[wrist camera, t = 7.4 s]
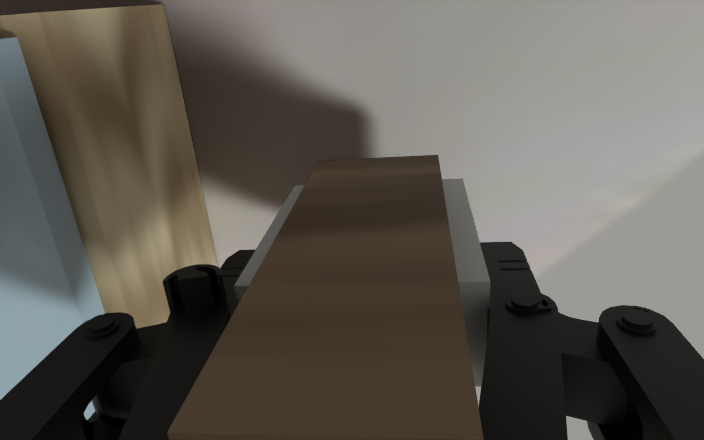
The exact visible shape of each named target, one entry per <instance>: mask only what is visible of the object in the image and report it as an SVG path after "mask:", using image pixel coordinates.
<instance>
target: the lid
mask: <svg viewBox="0 0 704 440" xmlns="http://www.w3.org/2000/svg"><path fill="white" fill-rule="evenodd" d="M101 314H102V315H103V314H105V311H104V308H103V305H102V302H101V299H100V296H99V293H98V289H97V286H96V283H95V280H94V277H93V274H92V271H91V267H90V264H89V261H88V258H87V255H86V252H85V249H84V246H83V242H82V239H81V236H80V233H79V230H78V227H77V224H76V220H75V217H74V214H73V211H72V208H71V205H70V202H69V198H68V195H67V192H66V189H65V186H64V183H63V180H62V176H61V173H60V170H59V167H58V164H57V161H56V158H55V155H54V151H53V148H52V145H51V142H50V139H49V136H48V133H47V129H46V126H45V123H44V120H43V117H42V114H41V111H40V107H39V104H38V101H37V98H36V95H35V92H34V89H33V85H32V82H31V79H30V76H29V73H28V70H27V67H26V63H25V60H24V57H23V54H22V51H21V48H20V45H19V42H18V38H17V37H13V38H1V39H0V400H1V399H2V398H3V397H4V396H5V395H6V394H7V393H8V392H9V391H10V390H11V389H12V388H13V387H14V386H15V385H17V384H18V383H19V382H20V381H21V380H22V379H23V378H24V377H25V376H26V375H27V374H28V373H29V372H30V371H31V370H32V369H33V368H35V367H36V366H37V365H38V364H39V363H40V362H41V361H42V360H43V359H44V358H45V357H46V356H47V355H48V354H49V353H50V352H51V351H53V350H54V349H55V348H56V347H57V346H58V345H59V344H60V343H61V342H62V341H63V340H64V339H65V338H66V337H67V336H68V335H69V334H71V333H72V332H73V331H74V330H75V329H76V328H77V327H79V326H80V325H81V324H83V323H84V322H86V321H88V320H90V319H92V318H94V317H95V316H98V315H101ZM94 412H95V409H94V406H93V403H92V401H91V402H90V403H89V405H88V406H87V408H86V410H85V412H84V416H85V418H86V419H87V420H88V419H89V418H90V417H91V416H92V414H93V413H94Z"/></svg>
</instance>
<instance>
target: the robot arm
mask: <svg viewBox="0 0 704 440" xmlns="http://www.w3.org/2000/svg"><path fill="white" fill-rule="evenodd" d="M442 184H443V190H444V196H445V203H446V209H447V215H448V221H449V227H450V234H451V240H452V246H453V252H454V259H455V265H456V271H457V277H458V283H459V290H460V296H461V302H462V308H463V315H464V321H465V327H466V333H467V339H468V346H469V352H470V358H471V364H472V371H473V377H474V383H475V386H481V394H480V402H479V414H480V420H481V427H482V433H483V439H484V440H568V439H567V425H566V416H570V417H574V418H578V419H582V420H586V421H587V423H588V428H589V430H590V432H591V435H592V437H593V439H594V440H704V359H703V358H702V357H701V356H700V354H699V353H698V352H697V351H696V350H695V349H694V347H693V346H692V345H691V344H690V343H689V342H688V340H687V339H686V338H685V337H684V336H683V335H682V333H681V332H680V331H679V330H678V329H677V328H676V326H674V324H673V323H672V322H670V321H669V320H668V319H667V318H666V317H665V316H663V315H661V314H659V313H656V312H654V311H652V310H650V309H647V308H642V307H639V306H624V305H622V306H616V307H610V308H608V309H606V310H604V311H603V312H602V314H601V315H600V317H599V323H597V322H591V321H586V320H580V319H576V318H571V317H568V316H565V315H563V314H560V313H559V312H558V308H557V306H556V304H555V302H554V301H553V300H552V299H550V298H549V297H548V296H546V295H543V294H541V292H540V290H539V287H538V285H537V283H536V280H535V278H534V276H533V273H532V271H531V270H530V266H529V264H528V262H527V259H526V257H525V255H524V252H523V250H522V249H520V248H519V247H517V246H516V245H515V244H513V243H512V242H484V243H480V241H479V238H478V234H477V230H476V227H475V223H474V219H473V216H472V212H471V208H470V205H469V201H468V197H467V193H466V190H465V186H464V182H463V179H442ZM304 186H305V185H296V186H294V188H293V189H292V191H291V193H290V194H289V196H288V198H287V199H286V201H285V202H284V204H283V206H282V207H281V209H280V211H279V212H278V214H277V216H276V217H275V219H274V221H273V222H272V224H271V226H270V227H269V229H268V231H267V232H266V234H265V235H264V237H263V239H262V240H261V242H260V244H259V245H258V247H257V249H256V250H239V251H238V252H236V253H235V254H233V255H232V256H230V257H229V258H227V259H226V261H225V262H224V264H223V265H222V267H221V269H220V268H219V267H217V266H215V265H210V264H197V265H192V266H187V267H184V268H181V269H178V270H176V271H174V272H172V273H171V274H169V275H168V276H167V277H166V278H165V279H164V280H163V281H162V282H163V286H164V290H165V294H166V298H167V302H168V306H169V310H170V315H169V317H168V320H167V322H165V323H161V324H157V325H152V326H146V327H141V328H136V325H135V322H134V318H133V317H132V316H131V315H129V314H128V313H122V312H115V313H105V314H103V315H102V314H101V315H98V316H95V317H94V318H92V319H90V320H88V321H86V322H84V323H83V324H81V325H80V326H79V327H77V328H76V329H75V330H74V331H73V332H72V333H71V334H69V335H68V336H67V337H66V338H65V339H64V340H63V341H62V342H61V343H60V344H59V345H58V346H57V347H56V348H55V349H54V350H53V351H51V352H50V353H49V354H48V355H47V356H46V357H45V358H44V359H43V360H42V361H41V362H40V363H39V364H38V365H37V366H36V367H35V368H33V369H32V370H31V371H30V372H29V373H28V374H27V375H26V376H25V377H24V378H23V379H22V380H21V381H20V382H19V383H18V384H17V385H15V386H14V387H13V388H12V389H11V390H10V391H9V392H8V393H7V394H6V395H5V396H4V397H3V398H2V399H1V400H0V440H169V438H168V434H167V432H168V430H169V428H170V426H171V425H172V423H173V421H174V419H175V417H176V416H177V414H178V412H179V410H180V408H181V407H182V405H183V403H184V401H185V399H186V398H187V396H188V394H189V392H190V391H191V389H192V387H193V385H194V383H195V382H196V380H197V378H198V376H199V374H200V373H201V371H202V369H203V367H204V365H205V364H206V362H207V360H208V358H209V356H210V355H211V353H212V351H213V349H214V347H215V346H216V344H217V342H218V340H219V338H220V337H221V335H222V333H223V331H224V329H225V328H226V326H227V324H228V322H229V320H230V319H231V317H232V315H233V313H234V311H235V310H236V308H237V306H238V304H239V302H240V301H241V299H242V297H243V295H244V293H245V292H246V290H247V288H248V286H249V284H250V283H251V281H252V279H253V277H254V275H255V274H256V272H257V270H258V268H259V267H260V265H261V263H262V261H263V259H264V258H265V256H266V254H267V252H268V250H269V249H270V247H271V245H272V243H273V241H274V240H275V238H276V236H277V234H278V232H279V231H280V229H281V227H282V225H283V223H284V222H285V220H286V218H287V216H288V214H289V213H290V211H291V209H292V207H293V205H294V204H295V202H296V200H297V198H298V196H299V195H300V193H301V191H302V189H303V187H304ZM91 401H92V403H93V406H94V409H95V412H94V413H93V414H92V416H91V417H90V418H89V419H88V420H87V419H86V418H85V416H84V412H85V410H86V408H87V406H88V405H89V403H90V402H91Z"/></svg>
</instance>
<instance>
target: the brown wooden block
mask: <svg viewBox="0 0 704 440" xmlns="http://www.w3.org/2000/svg"><path fill="white" fill-rule="evenodd" d="M167 434H168V438H169V440H484V439H483V433H482V427H481V420H480V414H479V408H478V402H477V395H476V389H475V383H474V377H473V371H472V364H471V358H470V352H469V346H468V339H467V333H466V327H465V321H464V315H463V308H462V302H461V296H460V290H459V283H458V277H457V271H456V265H455V259H454V252H453V246H452V240H451V234H450V227H449V221H448V215H447V209H446V203H445V196H444V190H443V184H442V178H441V171H440V165H439V159H438V155H427V156H406V157H385V158H363V159H342V160H321V161H318V162H317V164H316V166H315V168H314V169H313V171H312V173H311V175H310V177H309V178H308V180H307V182H306V184H305V186H304V187H303V189H302V191H301V193H300V195H299V196H298V198H297V200H296V202H295V204H294V205H293V207H292V209H291V211H290V213H289V214H288V216H287V218H286V220H285V222H284V223H283V225H282V227H281V229H280V231H279V232H278V234H277V236H276V238H275V240H274V241H273V243H272V245H271V247H270V249H269V250H268V252H267V254H266V256H265V258H264V259H263V261H262V263H261V265H260V267H259V268H258V270H257V272H256V274H255V275H254V277H253V279H252V281H251V283H250V284H249V286H248V288H247V290H246V292H245V293H244V295H243V297H242V299H241V301H240V302H239V304H238V306H237V308H236V310H235V311H234V313H233V315H232V317H231V319H230V320H229V322H228V324H227V326H226V328H225V329H224V331H223V333H222V335H221V337H220V338H219V340H218V342H217V344H216V346H215V347H214V349H213V351H212V353H211V355H210V356H209V358H208V360H207V362H206V364H205V365H204V367H203V369H202V371H201V373H200V374H199V376H198V378H197V380H196V382H195V383H194V385H193V387H192V389H191V391H190V392H189V394H188V396H187V398H186V399H185V401H184V403H183V405H182V407H181V408H180V410H179V412H178V414H177V416H176V417H175V419H174V421H173V423H172V425H171V426H170V428H169V430H168V432H167Z"/></svg>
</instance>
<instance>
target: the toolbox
mask: <svg viewBox="0 0 704 440" xmlns="http://www.w3.org/2000/svg"><path fill="white" fill-rule="evenodd" d="M13 37H17V38H18V42H19V45H20V48H21V51H22V54H23V57H24V60H25V63H26V67H27V70H28V73H29V76H30V79H31V82H32V85H33V89H34V92H35V95H36V98H37V101H38V104H39V107H40V111H41V114H42V117H43V120H44V123H45V126H46V129H47V133H48V136H49V139H50V142H51V145H52V148H53V151H54V155H55V158H56V161H57V164H58V167H59V170H60V173H61V176H62V180H63V183H64V186H65V189H66V192H67V195H68V198H69V202H70V205H71V208H72V211H73V214H74V217H75V220H76V224H77V227H78V230H79V233H80V236H81V239H82V242H83V246H84V249H85V252H86V255H87V258H88V261H89V264H90V267H91V271H92V274H93V277H94V280H95V283H96V286H97V289H98V293H99V296H100V299H101V302H102V305H103V308H104V311H105V313H115V312H122V313H128V314H129V315H131V316H132V317H133V318H134V322H135V325H136V328H141V327H146V326H152V325H157V324H161V323H165V322H167V320H168V317H169V315H170V310H169V306H168V302H167V298H166V294H165V290H164V286H163V282H162V281H163V280H164V279H165V278H166V277H167V276H168V275H169V274H171V273H172V272H174V271H176V270H178V269H181V268H184V267H187V266H192V265H197V264H210V265H215V266H217V267H218V263H217V258H216V253H215V248H214V244H213V239H212V234H211V229H210V224H209V220H208V215H207V210H206V205H205V200H204V195H203V191H202V186H201V181H200V176H199V171H198V166H197V162H196V157H195V152H194V147H193V142H192V138H191V133H190V128H189V123H188V118H187V113H186V109H185V104H184V99H183V94H182V89H181V85H180V80H179V75H178V70H177V65H176V60H175V56H174V51H173V46H172V41H171V36H170V32H169V27H168V22H167V17H166V12H165V7H164V4H157V5H141V6H126V7H111V8H96V9H81V10H66V11H51V12H36V13H25V14H14V15H3V16H0V39H1V38H13Z"/></svg>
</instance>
